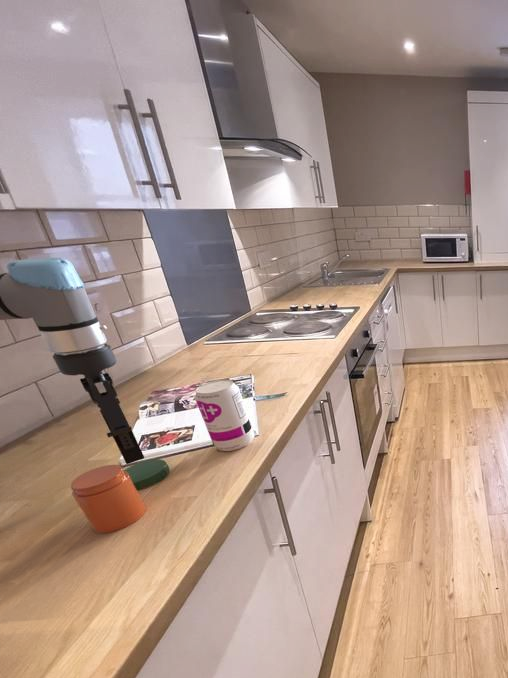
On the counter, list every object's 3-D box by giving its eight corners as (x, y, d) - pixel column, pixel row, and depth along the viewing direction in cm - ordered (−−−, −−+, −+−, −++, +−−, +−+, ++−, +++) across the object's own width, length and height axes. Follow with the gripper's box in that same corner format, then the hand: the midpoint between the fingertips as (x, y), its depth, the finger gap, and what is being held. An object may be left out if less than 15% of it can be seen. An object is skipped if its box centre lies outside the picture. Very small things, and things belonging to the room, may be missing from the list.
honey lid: (178, 465, 90) (175, 458, 89) (151, 489, 82) (147, 482, 81) (139, 467, 89) (136, 460, 88) (108, 492, 82) (104, 484, 81)
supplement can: (233, 455, 92) (211, 396, 86) (206, 449, 95) (183, 391, 88) (263, 436, 99) (244, 381, 93) (237, 431, 102) (218, 376, 95)
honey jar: (81, 534, 72) (54, 491, 67) (115, 505, 78) (92, 464, 74) (126, 531, 72) (101, 488, 68) (155, 502, 79) (135, 462, 74)
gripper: (121, 359, 68) (167, 463, 77) (98, 329, 83) (138, 419, 92) (58, 373, 63) (114, 482, 72) (45, 338, 78) (93, 432, 87)
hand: (128, 447), depth 82 cm, fingers open, 13 cm apart
